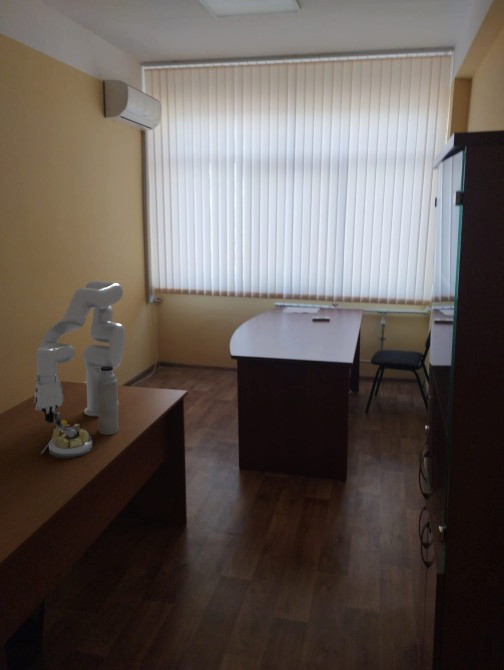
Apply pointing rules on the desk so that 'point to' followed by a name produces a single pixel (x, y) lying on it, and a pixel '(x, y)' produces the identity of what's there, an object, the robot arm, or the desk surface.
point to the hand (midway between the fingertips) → (49, 421)
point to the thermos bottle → (107, 401)
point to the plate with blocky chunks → (69, 451)
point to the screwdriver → (53, 434)
